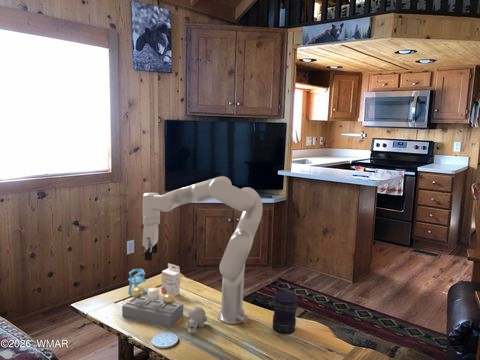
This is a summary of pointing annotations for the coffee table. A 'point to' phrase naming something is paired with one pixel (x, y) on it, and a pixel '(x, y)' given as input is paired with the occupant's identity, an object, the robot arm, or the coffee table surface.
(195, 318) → the round bodied animal figurine
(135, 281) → the chair
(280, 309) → the storage jar
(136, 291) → the brass knob far
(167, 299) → the brass knob near
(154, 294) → the white knob middle
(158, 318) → the grey compartment tray
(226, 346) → the coffee table surface
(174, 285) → the ink cartridge box
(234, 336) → the coffee table surface
